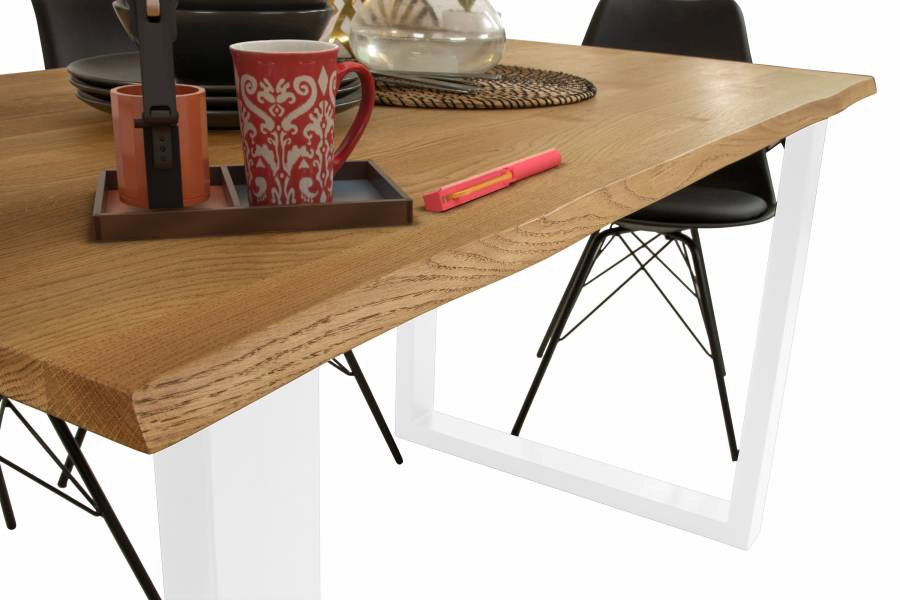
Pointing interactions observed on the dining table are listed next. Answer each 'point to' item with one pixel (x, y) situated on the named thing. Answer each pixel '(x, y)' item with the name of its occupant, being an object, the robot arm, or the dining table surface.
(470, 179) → the pink highlighter pen
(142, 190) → the terracotta cup
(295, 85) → the mug
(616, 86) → the dining table surface
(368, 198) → the tray
